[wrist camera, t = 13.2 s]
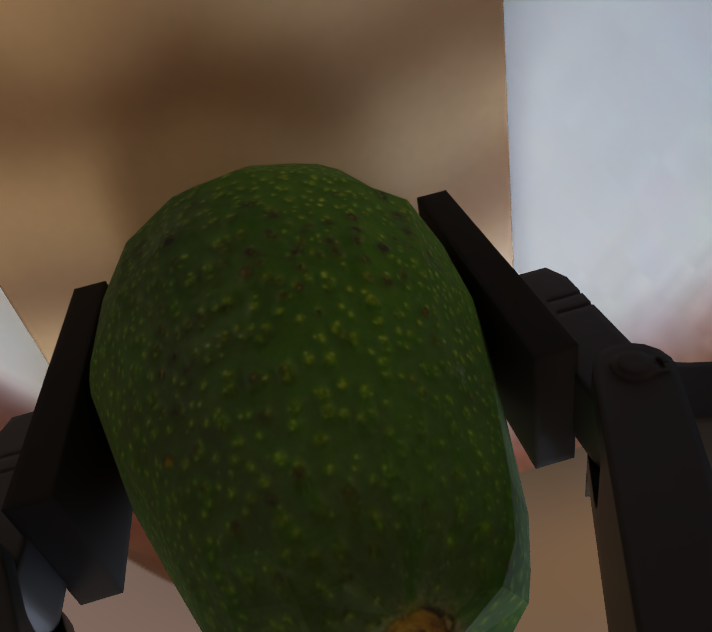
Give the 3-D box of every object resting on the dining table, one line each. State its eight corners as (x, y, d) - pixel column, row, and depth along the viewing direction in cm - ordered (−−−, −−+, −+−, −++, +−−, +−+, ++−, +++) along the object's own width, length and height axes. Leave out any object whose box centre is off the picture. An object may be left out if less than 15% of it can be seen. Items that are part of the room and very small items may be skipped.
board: (-186, -74, 12) (-227, -71, 11) (468, -219, 13) (495, -231, 12) (148, 486, 23) (145, 519, 22) (503, 384, 24) (519, 410, 23)
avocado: (452, 277, 19) (724, 686, 9) (240, 404, 20) (277, 893, 10) (313, 36, 14) (560, 335, 4) (47, 218, 15) (-226, 784, 5)
